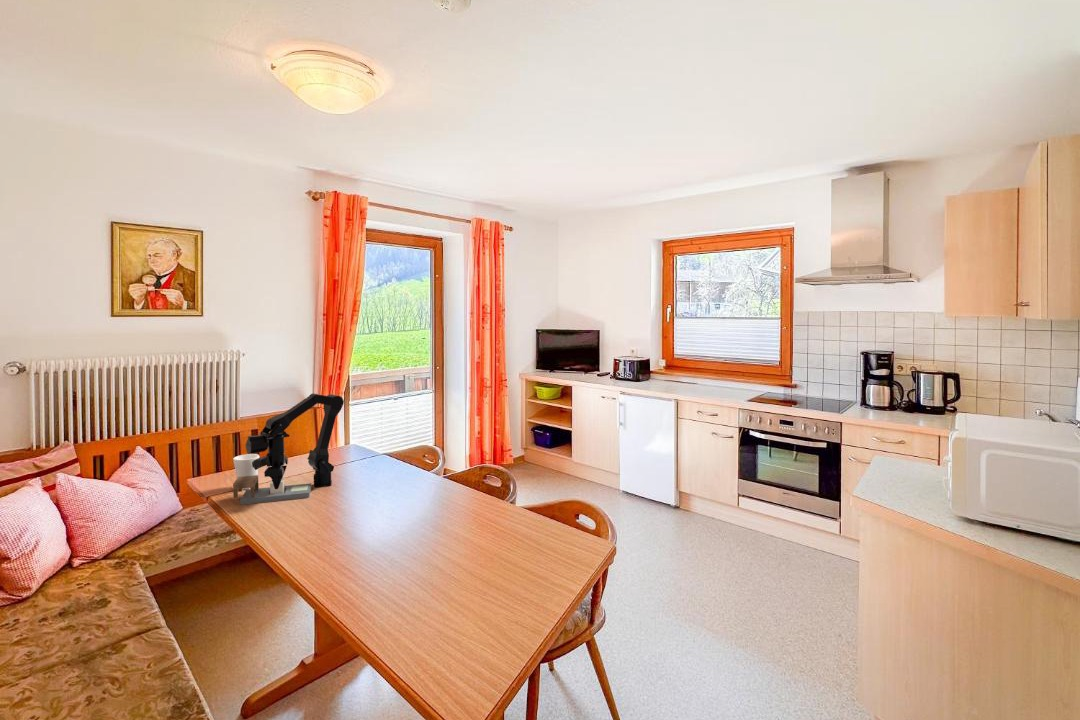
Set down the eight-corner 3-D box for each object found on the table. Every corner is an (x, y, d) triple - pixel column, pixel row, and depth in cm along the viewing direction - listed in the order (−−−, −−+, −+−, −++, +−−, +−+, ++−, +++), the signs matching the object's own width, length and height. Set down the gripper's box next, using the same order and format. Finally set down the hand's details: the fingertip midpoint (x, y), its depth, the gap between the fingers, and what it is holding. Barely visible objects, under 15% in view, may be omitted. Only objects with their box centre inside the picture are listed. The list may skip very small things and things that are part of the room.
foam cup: (240, 492, 201) (238, 461, 200) (230, 487, 206) (229, 457, 205) (264, 486, 208) (263, 456, 207) (254, 481, 214) (253, 452, 213)
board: (311, 487, 207) (311, 482, 207) (309, 497, 196) (309, 492, 196) (246, 494, 198) (246, 489, 198) (240, 504, 187) (240, 499, 187)
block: (284, 491, 200) (284, 478, 199) (283, 495, 196) (282, 482, 195) (272, 493, 198) (271, 479, 198) (270, 496, 194) (270, 483, 194)
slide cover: (258, 488, 199) (258, 475, 198) (254, 496, 190) (253, 482, 189) (238, 490, 196) (238, 476, 196) (233, 498, 187) (232, 484, 187)
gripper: (257, 445, 201) (258, 481, 203) (248, 457, 184) (250, 497, 185) (287, 443, 205) (288, 479, 207) (281, 454, 188) (282, 493, 189)
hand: (277, 486), depth 197 cm, fingers closed on block, 4 cm apart
